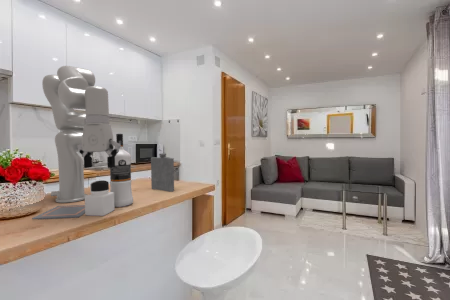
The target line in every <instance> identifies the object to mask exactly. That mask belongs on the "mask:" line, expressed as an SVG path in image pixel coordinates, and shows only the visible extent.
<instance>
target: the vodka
mask: <svg viewBox="0 0 450 300" xmlns="http://www.w3.org/2000/svg"><path fill="white" fill-rule="evenodd" d="M115 135H116V136H115V137H116V140H115V142H117V143H119V144H121V147H120V149H119V152H118V153H117V154H116V156H115V167H112V168H109V177H110V179H109V180H110V181H109V185H110V186H109V189H110V190H109V192H114V208H121V207H127V206H130V205H132V204H133V203H134V197H133V191H132V166H131V164H132V161H131V160H132V156H131V153H130V152H128V151H127V150H125V149H124V135H123V133H116V134H115Z"/></svg>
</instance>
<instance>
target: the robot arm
mask: <svg viewBox="0 0 450 300" xmlns="http://www.w3.org/2000/svg"><path fill="white" fill-rule="evenodd" d="M95 84H96V76H95V74H94V73H93V71H92V70H89V69H86V68H81V67H77V66H76V67H75V66H71V65H63V66H60V67H59V68H57V72H56V74H47V75H44V77H43V79H42V90H43V93H44V96H45V98H46V99H47V101H48V103H49V105H50V107H51V112H52V115H53V116H52V117H53V121H54V124H55V127H56V129H57V130H59V131H60V132H57V133H56V135H55V137H54V144H55V148H56V152H57V160H58V161H57V162H58V184H59V185H58V187H59V188H58V190H53V191H51V192H50V196H51V197H56V198H55V203H59V204H60V203H61V204H62V203H63V204H65V203H73V202H74V203H76V202H81V201H83V200H84V201H85V196H87V195H88V194H86V193H85V176H84V175H85V174H84V173H85V172H84V169H89V168H92V167H93V159H92V158H93V157H92V156H91V155H92V154H93V153H101V152H102V153H103V152H104V153H105V154H107V157H106V159H107V160H106V161H107V168H109V169H110V168H112V167H115V156H116V154H117V153H118V152H119V149H120V147H121V144H119V143H117V142H116V140H114V135H113V128H112V125H111V124H110V112H109V111H110V110H109V109H110V108H109V91H108V90H107V88H105V87H102V86H95ZM76 110H84V111H85V112H78V111H76ZM78 153H79V154H80V155H81V156H80V155H79V154H78Z"/></svg>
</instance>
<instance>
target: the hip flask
mask: <svg viewBox="0 0 450 300" xmlns="http://www.w3.org/2000/svg"><path fill="white" fill-rule="evenodd" d="M158 155H159V157H155V156H154V157H153V156H152V157H150V176H151V177H150V178H151V179H150V180H151V182H150V184H151V185H150V186H151V190H156V191H157V190H158V191H164V192H170V193H172V192H175V166H174V165H175V160H174V159H175V158H173V157H168V156H167V153H164V152H163V153H159V154H158Z"/></svg>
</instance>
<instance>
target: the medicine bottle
mask: <svg viewBox="0 0 450 300" xmlns="http://www.w3.org/2000/svg"><path fill="white" fill-rule="evenodd" d="M109 185H110V181H107V180H95V181H92V182H90V183H89V188H90V190H89V191H90V194H87V196H85V199H84V205H85V214H84V215H85V216H91V217H92V216H95V217H96V216H97V217H103V216H106V215H108V214H110V213H111V212H113V211H115V208H116V207H114V192H110V190H109V189H110V186H109Z"/></svg>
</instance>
